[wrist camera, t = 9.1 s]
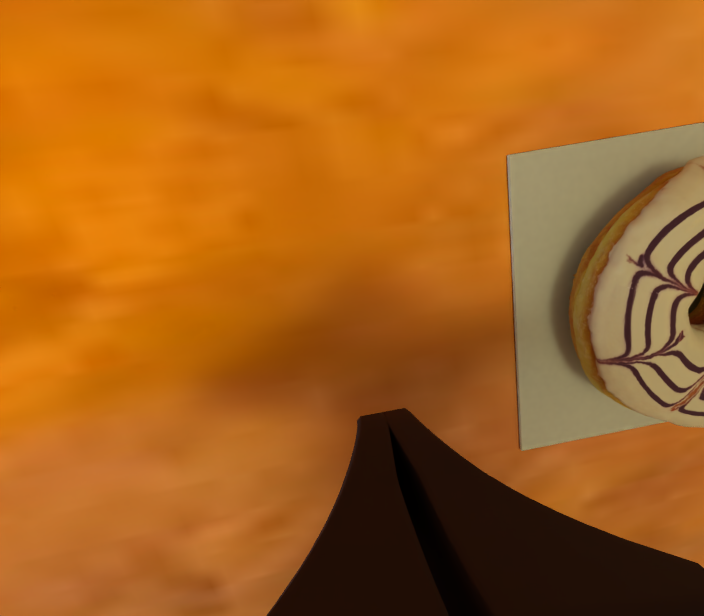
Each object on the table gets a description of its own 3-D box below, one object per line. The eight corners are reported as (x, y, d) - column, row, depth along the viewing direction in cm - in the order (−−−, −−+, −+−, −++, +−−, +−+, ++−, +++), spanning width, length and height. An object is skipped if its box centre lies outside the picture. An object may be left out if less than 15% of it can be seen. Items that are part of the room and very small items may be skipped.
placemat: (779, 396, 20) (783, 398, 20) (519, 448, 19) (521, 451, 19) (829, 101, 16) (836, 100, 16) (506, 155, 15) (508, 154, 15)
